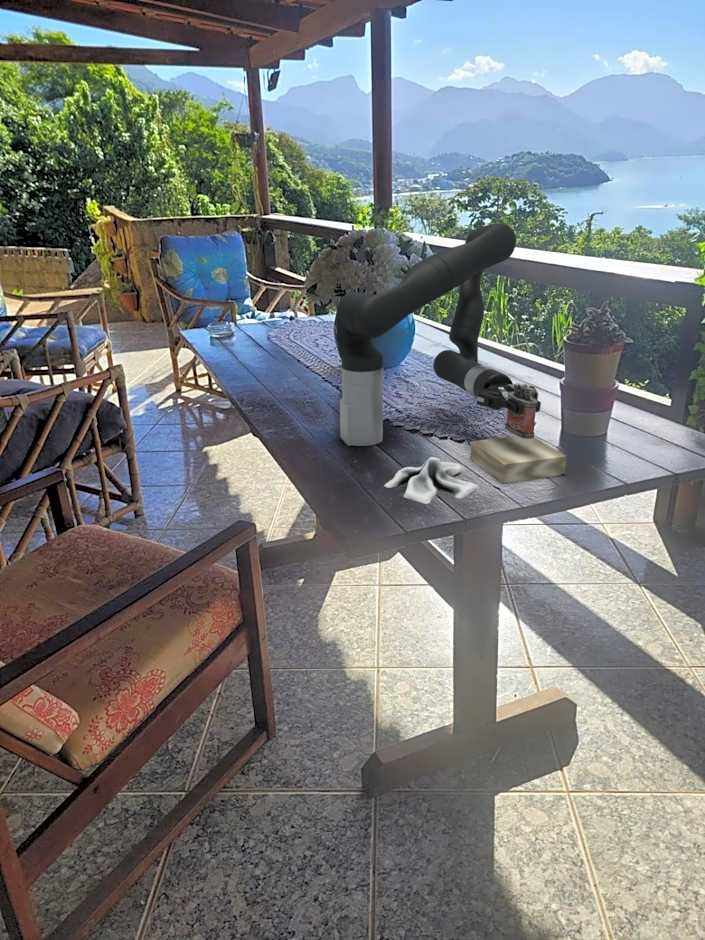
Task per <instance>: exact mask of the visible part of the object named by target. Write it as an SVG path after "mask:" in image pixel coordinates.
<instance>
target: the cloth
mask: <svg viewBox="0 0 705 940" xmlns="http://www.w3.org/2000/svg"><path fill="white" fill-rule="evenodd" d="M465 469H466V468H465V466H463V465H461V464H460V463H456V462H447V461H441V459H439V458H437V457H433V456H431V457H428V459H427V460H426V461H424V463H423V464H422V465H421V466H417V467H416V466H407V467H403V468H401V469H400V470H398V471H397V472H396V473H395V475H394V477H393V478H392V479H389V481H387V482H386V483H385V484H384V485H383V487H385V488H390V489H391V488H395V487H398V486H399V485H400V484H401V483H402V482H407V486H406V487H407V488H406V491H405V492H404V494H403V498H405V499H408V500H410V501H414V502H417V503H420V504H424V505H425V504H426V505H427V504H430V503H431V501H432V500H433V499H434V498H436V496H437V495H438V490H439V488H443V489H446V490H448V491H450V492H451V493H453V494H454V498H456V499H463V498H466V497H468V496H469V495H471V494H473V493H474V492H475V491H477V490H478V489H479V488H480V486H479V485H478V484H476V483H473V482H469V481H464V480H461V479H458V478H455V476H457V474H459V475H460V474H462V472H463V471H464V470H465Z"/></svg>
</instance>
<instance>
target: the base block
mask: <svg viewBox="0 0 705 940" xmlns="http://www.w3.org/2000/svg"><path fill="white" fill-rule="evenodd" d="M469 454H470V455H469V460H471V461H472V462H473V463H475V464H476V465H477V466H479V467H480V468H481V469H483V470H484V471H485V472H486V473H488V474H489V475H490V476H492V477H493V478H494V479H496V480H497V481H498V482H500V483H501V484H509V483H515V482H523V481H529V480H535V479H543V478H551V477H558V476H562V475H561V474H564V475H565V472H566V465H567V464H566V463H567V455H565V453H562V452H560V451H559V450H557V449H555V448H553V447H552V446H550V445H549V444H546V443H544V442H543V441H541V440H540V439H538V438H536V437H535V436H534V438H532V439H524V438H521V437H519V436H516V435H511V436H505V437H496V438H489V439H479V440H472V441H470V453H469ZM557 475H558V476H557Z"/></svg>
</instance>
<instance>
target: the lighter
mask: <svg viewBox="0 0 705 940" xmlns="http://www.w3.org/2000/svg"><path fill="white" fill-rule="evenodd" d="M513 385H514V392H509V393H508V396H510V397H511V399H514V400H516V401H518V402H520V403H522V413H521V414H516V413H514V412H512V411H510V410H507V412H506V413H507V414H506V423H505V426H504V427H505V429H506V430H507V431H508V432H509V433H511V434H512V435H513V436H519V437H521V438H524V439H532V438H534V437H535V431H534V430H535V422H536V420H535V419H536V413H537V412H536V406H537V403H538V401H539V400H538V401H537V400H535V399H534V398H532V397H530V396H535V390H534V389H532V388H530V387H529V385H528V384H526V383H523V384H521V383H518V382H517V383H513Z"/></svg>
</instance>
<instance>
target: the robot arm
mask: <svg viewBox="0 0 705 940" xmlns="http://www.w3.org/2000/svg"><path fill="white" fill-rule="evenodd" d="M516 244H517V236H516V233H515V231H514V229H513V228H512V227H510V226H509V225H507V224H505V223H503V222H502V223H500V222H495V223H491V224H487V225H483V226H479V227H477V228H474V229H472V230H470V232H469V233H468V234H467V236H466V238H465V243H463V244H460V245H456V246H453V247H450V248H447V249H444V250H440V251H438V252H436V253H434V254H431V255H429V256H427V257H426V258H424V259H422V260H420V261H418V262H416V263H415V264H413V266H411V267H410V268H409V269H408V271H406V273H405V275H404V277H403V279H402V281H401V283H399V284H398V285H396V286H394V287H392V288H390V289H388V290H386V291H383V292H381V293H376V294H371V293H365V292H358V291H352V292H348V293H346V294H344V295H343V297H341V299H340V300H339V302H338V304H337V308H336V313H335V314H336V316H335V329H336V342H337V343H336V344H337V353H338V357H339V358H340V360H341V384H342V386H341V394H342V395H341V396H342V397H341V398H340V399H339V428H340V429H339V431H340V434H339V435H340V437H339V438H340V439H341V440H342V441H343V442H344V443H345V445H346V446H348V447H350V446H356V447H369V446H375V445H378V444H380V443H382V442H383V440H384V439H383V436H384V435H383V434H384V428H383V426H384V425H383V424H384V421H383V420H384V419H383V418H384V417H383V416H384V415H383V414H384V412H383V411H384V357H383V354H382V353H381V352H380V351H379V350H378V349H377V348H376V347H375V345H374V343H373V342H372V339H376V338H379V337H382V335H384V334H386V333H387V332H389V331H390V330H392V329H393V328H394V327H395V326H397V325H398V324H399V323H400V322H402V321H403V320H404V319H405V318H407V317H408V316H410V315H411V314H414V313H415V312H416V311H419V310H420V309H422V308H424V307H425V306H426V305H428V304H430V303H432V302H434V301H435V300H438V299H440V298H441V297H443V296H445V295H447V293H450V292H451V291H452V290H454V289H455V288H457V287H459V291H458V299H457V303H456V307H455V311H454V314H453V319H452V323H451V326H450V331H449V335H448V339H449V341H450V342H451V343H453V344H454V345H455V346H456V347H457V349H458V350H459V351H458V352H459V353H458V352H456V351H454V350H452V349H445V350H444V349H443V350H442V351H440V352H439V353H438V354H437V355H436V356H435V358H434V360H433V364H432V365H433V371H434V373H435V375H436V376H437V377H438V378H440V379H442V380H444V381H446V382H449V384H453V385H455V386H456V387H459V388H460V389H461V390H463V391H465V392H466V393H468V394H469V395H470V396H471V397H473V398H474V399H476V405H478V406H481V407H486V408H488V409H493V410H496V411H500V410H501V409H503V410H505V411H508V410H510V411H512V412H514V413H516V414H521V413H522V403H520V402H518V401H516V400H514V399H511V397H510V396H508V393H509V392H514V383H513V381H512V379H511V378H510V377H509V375H507V374H505V373H502V372H501V371H498V370H496V369H495V368H492V367H489V366H486V365H484V364H482V363H479V362H478V361H479V360H478V359H479V358H478V357H479V356H478V350H479V349H478V348H479V338H480V337H479V336H480V333H481V329H482V325H483V321H484V317H485V305H484V299H483V296H482V290H481V281H482V276H483V274H484V271H485V270H486V269H488V268H491V267H493V266H495V265H499V264H500V263H501V264H502V263H503V262H505V261H507V260H508V259H509V258H510V257H512V255H513V254H514V251H515V248H516ZM528 387H530V388H532V389H534V390H535V396H530V397H532V398H534V399H535V400H537V401H538V403H537V406H536V413H539V412H540V410H541V406H542V405H541V404H542V402H541V401H540V400H538V399H539V392H538V391H537V389H536V388H535V386H533V385H528Z"/></svg>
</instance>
